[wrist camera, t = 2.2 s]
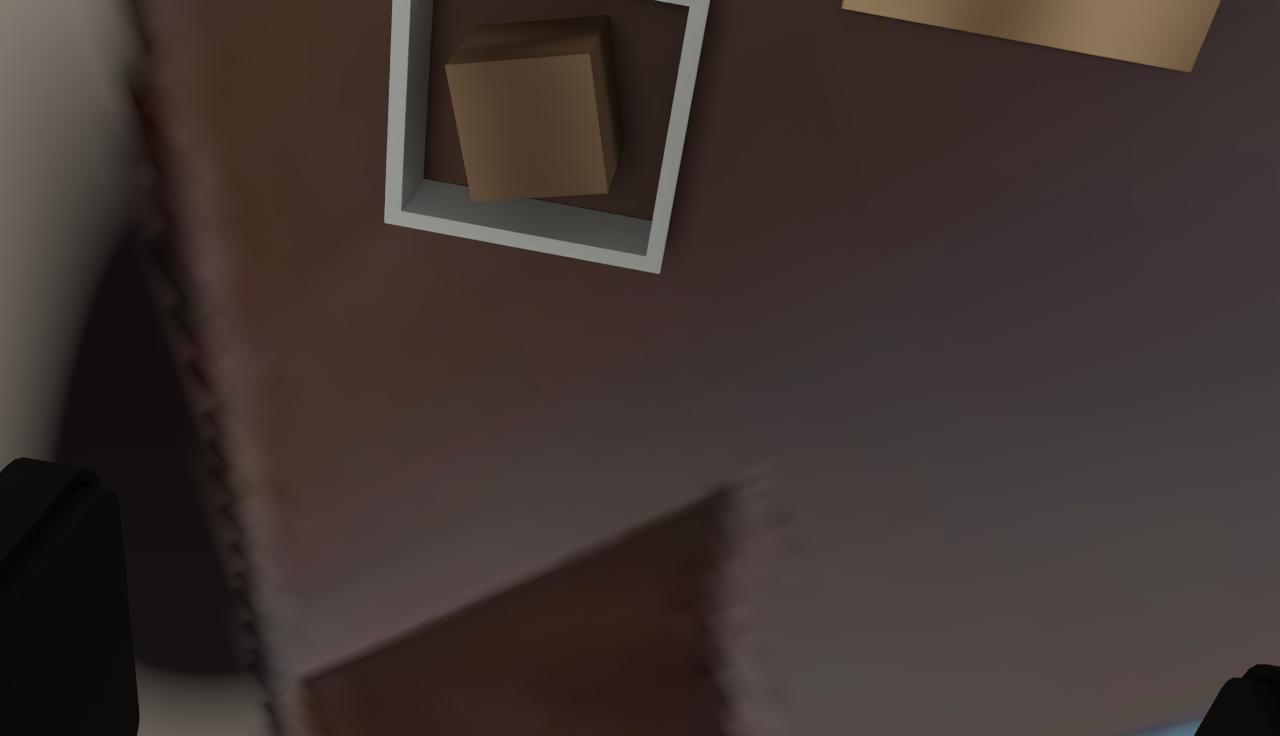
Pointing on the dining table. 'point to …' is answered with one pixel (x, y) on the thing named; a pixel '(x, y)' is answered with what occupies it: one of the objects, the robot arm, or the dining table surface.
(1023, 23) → the coaster
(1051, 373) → the dining table surface
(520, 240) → the tray blue
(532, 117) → the walnut cube
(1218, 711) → the robot arm
